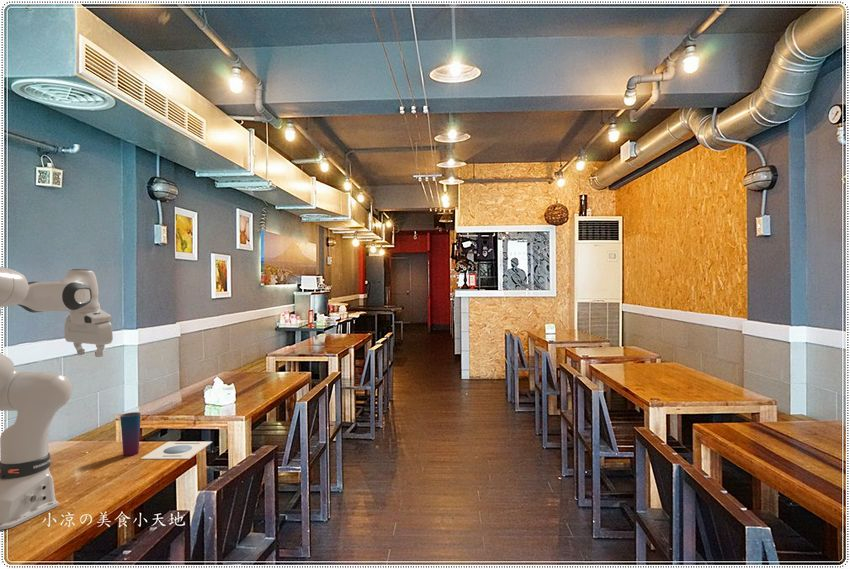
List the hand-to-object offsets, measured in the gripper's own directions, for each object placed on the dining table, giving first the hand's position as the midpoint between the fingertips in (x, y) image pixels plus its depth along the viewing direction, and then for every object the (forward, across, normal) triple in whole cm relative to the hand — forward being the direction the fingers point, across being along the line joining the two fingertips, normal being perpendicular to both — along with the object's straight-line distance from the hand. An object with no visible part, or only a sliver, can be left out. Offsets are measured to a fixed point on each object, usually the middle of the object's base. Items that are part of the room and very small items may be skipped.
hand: (90, 355), depth 178 cm
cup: (+42, -3, +13) cm, 44 cm away
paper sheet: (+42, +11, +23) cm, 49 cm away
